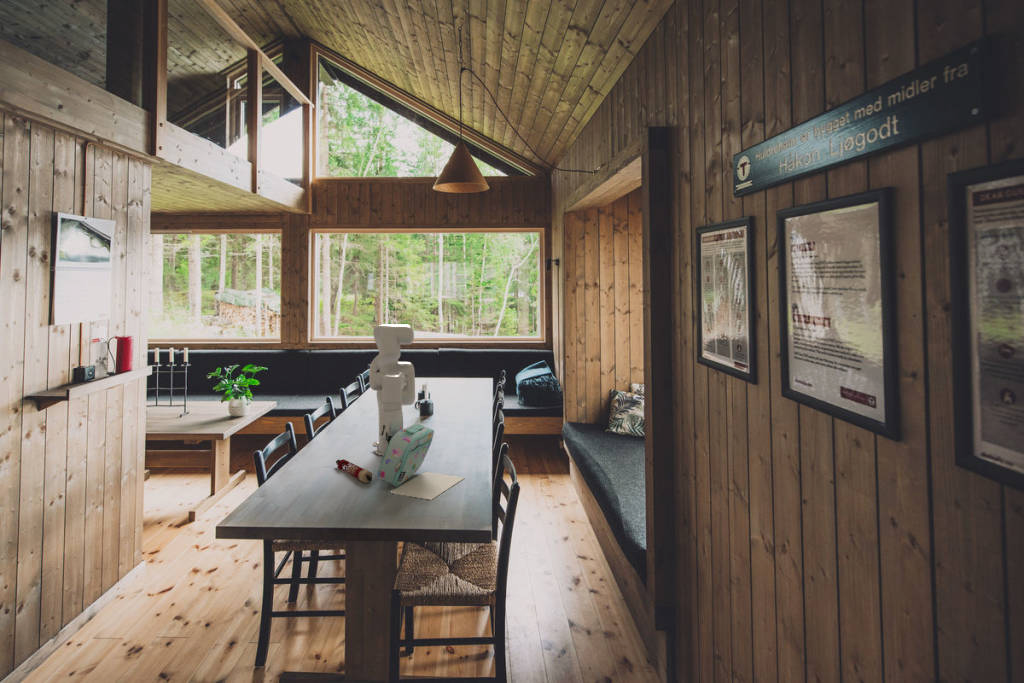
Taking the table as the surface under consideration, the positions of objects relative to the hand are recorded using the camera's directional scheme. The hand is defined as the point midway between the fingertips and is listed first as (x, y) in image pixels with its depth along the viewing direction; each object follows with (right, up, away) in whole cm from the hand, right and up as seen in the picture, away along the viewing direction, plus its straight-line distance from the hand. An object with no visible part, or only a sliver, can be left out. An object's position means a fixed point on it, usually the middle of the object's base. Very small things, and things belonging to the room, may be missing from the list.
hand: (392, 451), depth 208 cm
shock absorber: (-17, -11, +6) cm, 21 cm away
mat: (+15, -12, -5) cm, 20 cm away
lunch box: (+2, -10, 0) cm, 10 cm away
